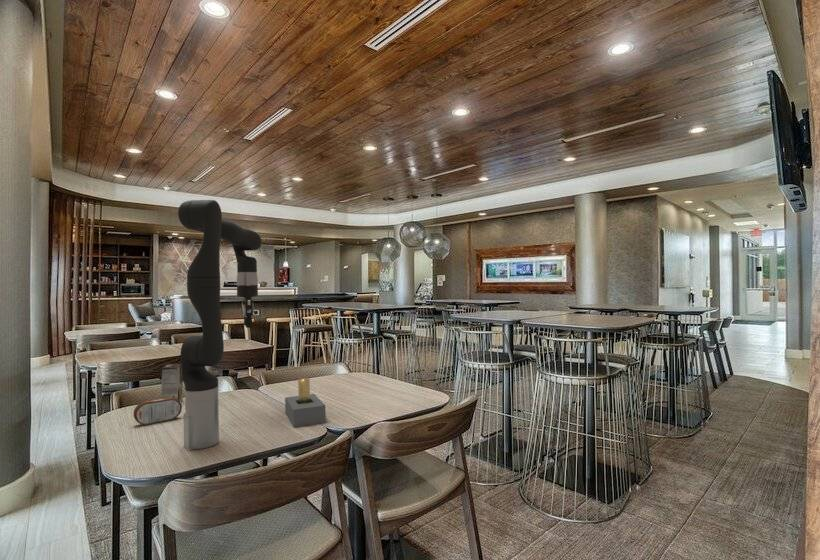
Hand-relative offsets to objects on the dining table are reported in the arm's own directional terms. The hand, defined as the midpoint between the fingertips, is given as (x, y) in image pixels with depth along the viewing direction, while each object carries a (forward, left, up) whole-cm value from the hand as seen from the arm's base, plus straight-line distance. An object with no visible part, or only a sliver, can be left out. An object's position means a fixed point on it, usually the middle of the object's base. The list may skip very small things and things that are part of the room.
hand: (248, 326), depth 161 cm
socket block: (+13, -20, -33) cm, 41 cm away
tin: (-28, +13, -33) cm, 45 cm away
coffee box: (-19, +37, -33) cm, 53 cm away
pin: (+13, -20, -31) cm, 39 cm away
